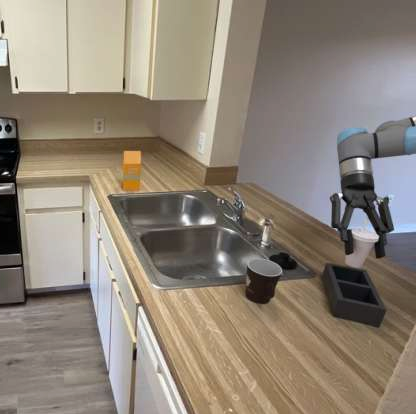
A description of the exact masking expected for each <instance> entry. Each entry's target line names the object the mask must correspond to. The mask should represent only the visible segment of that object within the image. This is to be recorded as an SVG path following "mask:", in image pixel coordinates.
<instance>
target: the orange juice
mask: <svg viewBox="0 0 416 414" xmlns="http://www.w3.org/2000/svg"><path fill="white" fill-rule="evenodd" d="M122 160H123V161H122V191H140V190H141V171H142V151H141V150H123V159H122Z"/></svg>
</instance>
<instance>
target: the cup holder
mask: <svg viewBox="0 0 416 414" xmlns="http://www.w3.org/2000/svg"><path fill="white" fill-rule="evenodd" d="M321 281H322V285H323V288H324V292H325V295H326V298H327V299H326V300H327V302H328V306H329V309H330V313H331V317H333V318H338V319H342V320H345V321H349V322H350V321H351V322H354V323H358V324H363V325H367V326H371V327H376V328H380V327H381V324H382V323H383V320H384V317H385V315H386V313H387V311H388V309H387V308H386V305H385V304H384V302H383V299H382V297H381V296H380V294H379V292H378V290H377V288H376V286H375V284H374V282H373V280H372V278H371V277H370V275H369V273H368V270H367V269H364V268H362V269H361V268H356V267H352V266H347V265H341V264H337V263H336V264H335V263H330V262H325V265H324V268H323V272H322V275H321Z"/></svg>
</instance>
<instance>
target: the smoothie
mask: <svg viewBox="0 0 416 414" xmlns="http://www.w3.org/2000/svg"><path fill="white" fill-rule="evenodd" d="M368 220H369V219H368V217H365V218H364V222H363V223H362V227H361V228H360V227H353V228H351V229H352V239H353V249H354V253H352V254H350V255H345V258H344V259H345V260H344V263H345V264H346V266H347V265H348V267H352V268H358V269H360V268H362V266H363V264H364V262H365V261H366V259H367V257H368V256H369V255H370V252H371V251H372V249H373V247H374V244H375V242H377V241H378V239H379V236H378V235H377V234H376V232H375V231H372V230H369V229H365V228H366V226H367V223H368Z"/></svg>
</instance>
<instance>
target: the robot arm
mask: <svg viewBox="0 0 416 414" xmlns="http://www.w3.org/2000/svg"><path fill="white" fill-rule="evenodd" d="M336 150H337V151H336V152H337V158H338V170H339V178H340V179H339V181H340V191H341V192H340V193H338V192H334V193H333V194H332V195H330V196H329V201H330V203H331V215H330V216H331V218H330V219H331V222H330V224H331V225H330V226H331V228H332V229H335V230H337V232H338V233H339V237H340V242H341V243H343V245H344V255H345V256H346V255H350V254H352V253H354V249H353V239H352V228H349V226H350V222H351V220H352V216H353V214H354V211H355V209H359V210H362V212H363V213H364V214H366V218H368V220H369V222H370V224H371V226H372V228H373V230H374V233H376V234H377V235H378V236H379V239H378V241H377V242H375V244H374V246H373V247H374V252H375V253H374V255H375V259H383V258H385V257H386V249H385V246H387V245H388V240H387V238H388V237H387V234H390V233H392V232H394V231H395V226H394V222H393V219H392V214H391V209H390V205H389V204H390V197H388V196H384V197H381V196H378V195H377V193H376V192H375V190H376V189H375V185H376V184H375V178H374V171H373V164H372V163H373V162H372V160H374V159H376V160H377V159H383V158H384V159H385V158H392V157H402V156H411V155H416V115H413V116H410V117H406V118H402V119H398V120H386V121H383V122H381V123H380V124H379V125H378V126H377V127H376V129H375V130H374V132H368V130H367V128H365V127H363V126H359V127H358V126H353V127H352V126H351V127H348V128H344V129H343V130H341V131H340V132H339V133H338V135H337V137H336ZM342 201H343V202H344V203H345V207H344V212H343V214H342V215H341V211H342V209H341V208H342ZM374 202H376V204H375V203H374ZM376 206H377V207H376ZM376 208H377V210H378V211H377V210H376ZM341 216H342V218H341Z"/></svg>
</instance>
